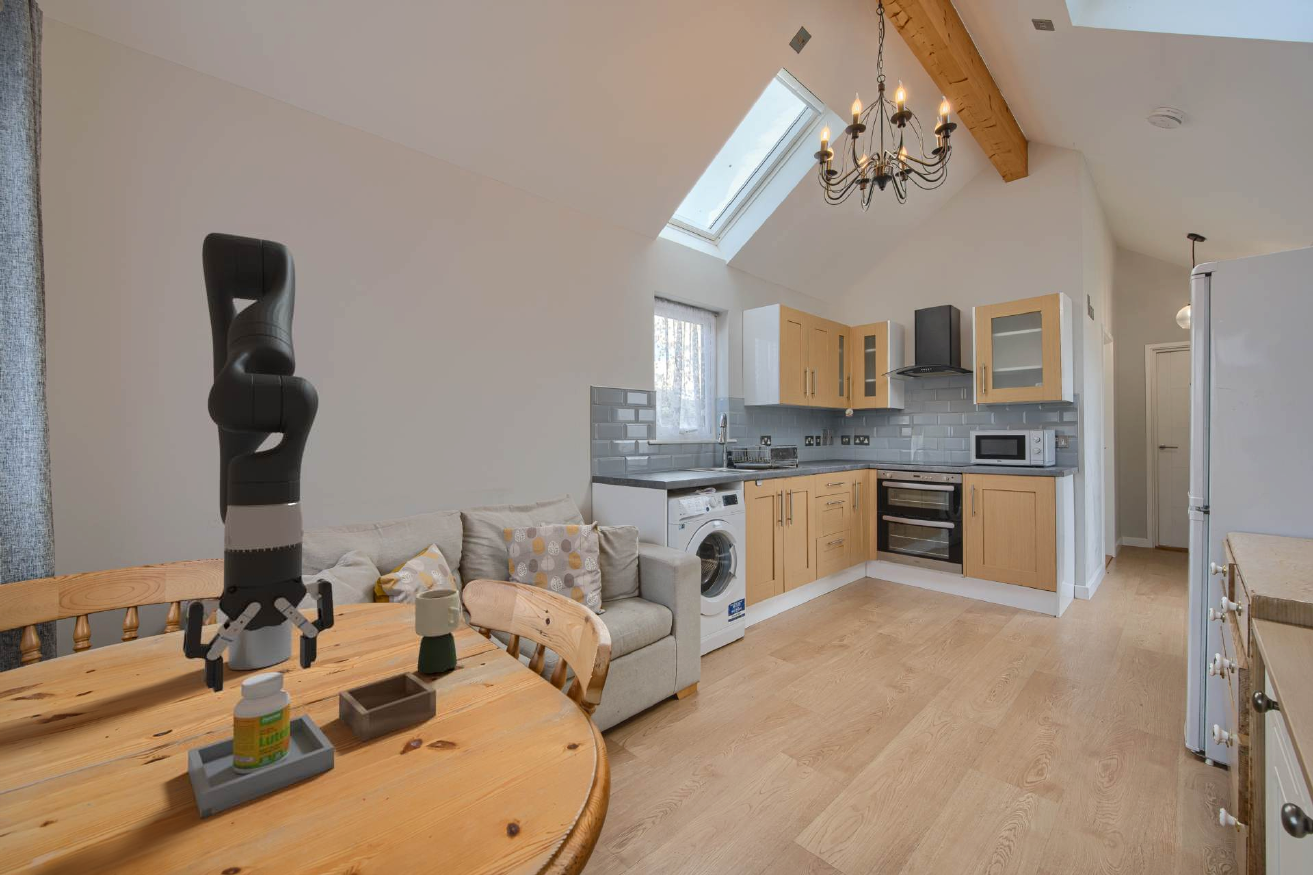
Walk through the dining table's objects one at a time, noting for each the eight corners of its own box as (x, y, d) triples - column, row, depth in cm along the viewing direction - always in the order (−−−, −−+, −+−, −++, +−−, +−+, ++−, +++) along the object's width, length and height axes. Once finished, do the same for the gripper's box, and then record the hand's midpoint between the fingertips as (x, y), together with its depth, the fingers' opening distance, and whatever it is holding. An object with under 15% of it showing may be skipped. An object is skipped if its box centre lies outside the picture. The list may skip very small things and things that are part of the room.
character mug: (475, 669, 92) (475, 593, 92) (439, 684, 86) (439, 603, 86) (435, 657, 98) (435, 585, 98) (399, 670, 92) (399, 594, 92)
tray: (187, 771, 63) (188, 750, 63) (306, 732, 71) (307, 713, 71) (201, 818, 54) (201, 794, 55) (334, 767, 63) (334, 747, 63)
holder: (339, 717, 75) (339, 692, 75) (408, 694, 82) (409, 671, 82) (362, 742, 69) (362, 714, 69) (436, 715, 76) (436, 690, 76)
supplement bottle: (259, 778, 60) (260, 690, 60) (220, 773, 61) (221, 686, 61) (300, 751, 65) (301, 671, 65) (264, 747, 66) (264, 668, 67)
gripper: (323, 530, 72) (322, 652, 71) (181, 545, 61) (179, 687, 61) (341, 537, 66) (340, 668, 66) (189, 554, 56) (187, 710, 56)
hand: (263, 677), depth 63 cm, fingers open, 8 cm apart
